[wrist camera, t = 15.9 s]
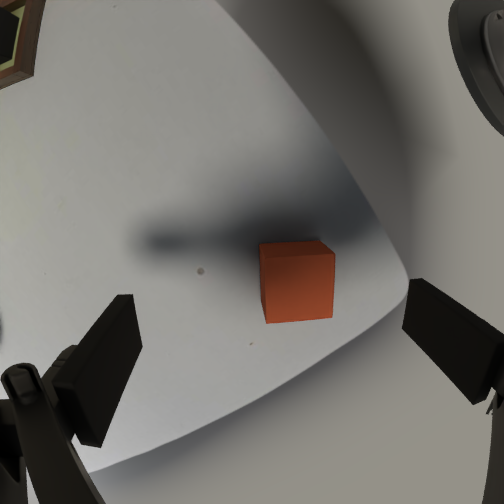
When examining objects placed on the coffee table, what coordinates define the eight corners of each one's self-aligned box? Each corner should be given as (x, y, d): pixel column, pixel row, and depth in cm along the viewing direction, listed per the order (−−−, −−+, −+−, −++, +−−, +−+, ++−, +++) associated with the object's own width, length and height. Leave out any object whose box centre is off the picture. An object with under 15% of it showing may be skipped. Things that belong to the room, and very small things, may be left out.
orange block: (319, 240, 28) (335, 253, 24) (318, 296, 29) (332, 317, 25) (259, 243, 28) (264, 257, 23) (261, 301, 29) (266, 323, 25)
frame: (64, -61, 16) (56, -71, 14) (33, 75, 22) (19, 70, 19) (-2, -29, 16) (-11, -35, 13) (-32, 105, 21) (-46, 103, 19)
